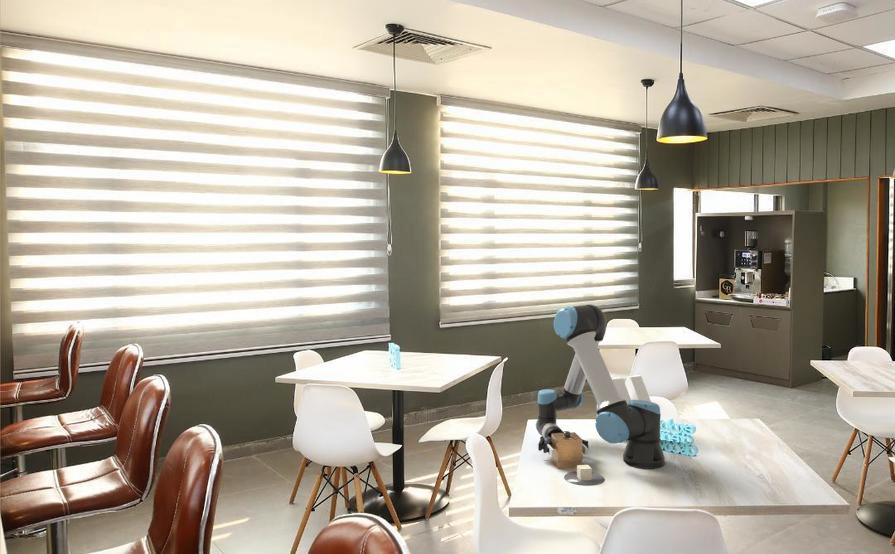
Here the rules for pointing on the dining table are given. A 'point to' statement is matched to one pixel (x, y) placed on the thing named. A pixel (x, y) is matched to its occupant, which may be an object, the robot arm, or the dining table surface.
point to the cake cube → (584, 472)
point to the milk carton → (631, 389)
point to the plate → (574, 479)
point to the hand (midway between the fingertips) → (569, 452)
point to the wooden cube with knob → (567, 450)
